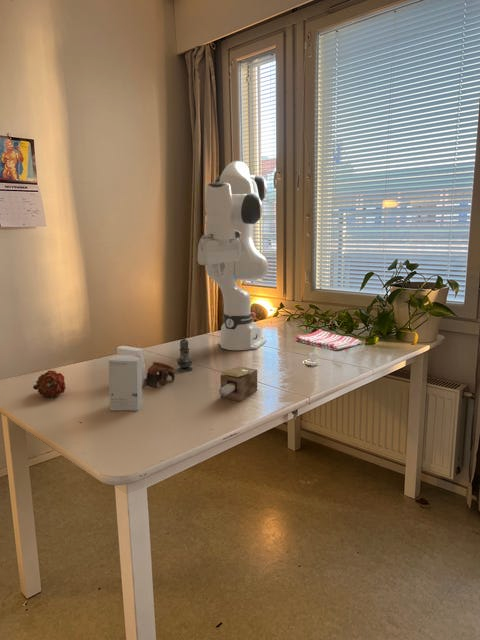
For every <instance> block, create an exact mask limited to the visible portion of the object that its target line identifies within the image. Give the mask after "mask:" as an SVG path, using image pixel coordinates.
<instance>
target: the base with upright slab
mask: <svg viewBox="0 0 480 640" xmlns="http://www.w3.org/2000/svg"><path fill="white" fill-rule="evenodd" d="M116 353H117V354H116V355H130V356H141V372H142V387H143V386H146V385H145V378H147V371H146V364H145V359H144V358H145V357H144V348H140V347H134V346H127V345H120V346H117V348H116Z"/></svg>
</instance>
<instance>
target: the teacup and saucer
mask: <svg viewBox="0 0 480 640" xmlns="http://www.w3.org/2000/svg"><path fill="white" fill-rule="evenodd" d="M318 355H319V353H318V352H314V351H312V352H309V355H308V358H309V359H305V360H303V361H302V364H304V361H306V364H307V365H306V366H309V365H311V366H312V367H316V366H315V365H317V362H318V361H317V360H318V358H319V357H318ZM307 360H310V361H307ZM311 366H310V367H311Z"/></svg>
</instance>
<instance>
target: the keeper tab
mask: <svg viewBox="0 0 480 640" xmlns="http://www.w3.org/2000/svg"><path fill="white" fill-rule="evenodd" d="M222 374H224V375H230V376H235V377H239V376H243V375H246V374H249V371H246V370H241V369H235V367H233V368H229V369H225V370H221V373H220V375H222Z"/></svg>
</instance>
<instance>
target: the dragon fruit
mask: <svg viewBox="0 0 480 640" xmlns="http://www.w3.org/2000/svg"><path fill="white" fill-rule="evenodd" d="M35 383H36V384H33V385H32V389H34V390H35V391H37V392H38V394H40V396H42V397H44V398H45V397H48V398H51V399H52V398H53V399H55V398H57V396H59V395H60V394H63V393H64V392H65V389H66V388H67V387H66V382H65V376H64V375H63V374H62V373H60V372H58V373H57V371H55V370H51V369H50V370H47V371H46V372H45V373H41V374H40V376H38V380H36V381H35Z"/></svg>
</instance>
